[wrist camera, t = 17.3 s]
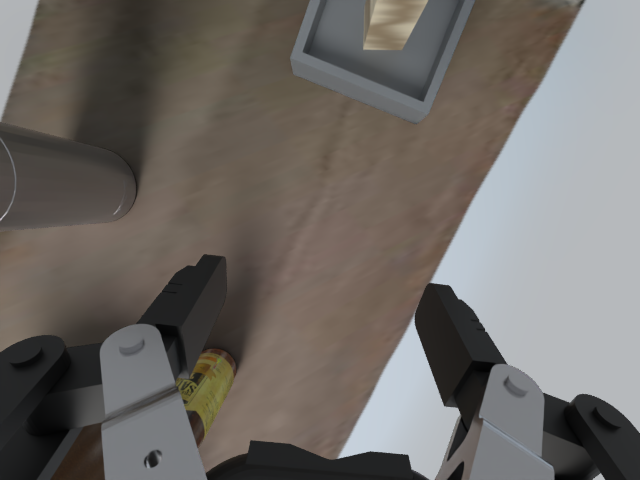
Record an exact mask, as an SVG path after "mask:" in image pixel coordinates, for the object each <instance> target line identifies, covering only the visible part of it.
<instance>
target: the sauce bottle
mask: <svg viewBox="0 0 640 480" xmlns="http://www.w3.org/2000/svg"><path fill="white" fill-rule="evenodd" d="M235 375H236V364H235V362H234V360H233V358H232V357H231V356H230V354H228V353H227V352H226V351H224V350H221V349H207V350H205V351H202V352H201V354H200V357H199V359H198V361H197V363H196V365H195V368H194V370H193V372H192V374H191V376H190V378H189V379H185V378H177V380H176V382H175V384H176V386H177V387H178V388H179V391H180V394H181V397H182V400H183V403H184V406H185V410H186V413H187V416H188V419H189V422H190V426H191V429H192V432H193V435H194V439H195V442H196V445H197V448H199V447H200V445H201V444H202V442H203V440H204V438H205V436H206V434H207V433H208V431H209V429H210V427H211V425H212V423H213V421H214V419H215V417H216V415H217V413H218V411H219V409H220V408H221V406H222V404H223V402H224V400H225V398H226V396H227V394H228V392H229V390H230V388H231V386H232V384H233V380H234V378H235Z"/></svg>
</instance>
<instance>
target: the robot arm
mask: <svg viewBox="0 0 640 480" xmlns="http://www.w3.org/2000/svg"><path fill="white" fill-rule="evenodd" d="M135 195H136V182H135V178H134V175H133V173H132V171H131V168H130V167H129V166H128V164H127V163H126V162H125V161H124V160H123V159H122V158H121V157H120V156H118V155H117V154H115V153H114V152H112V151H109V150H106V149H103V148H99V147H95V146H91V145H87V144H84V143H80V142H76V141H72V140H69V139H65V138H61V137H57V136H53V135H49V134H45V133H41V132H37V131H34V130H30V129H26V128H22V127H18V126H14V125H10V124H6V123H2V122H0V231H12V230H24V229H36V228H48V227H60V226H72V225H84V224H96V223H108V222H112V221H115V220H117V219H119V218H121V217H123V216H124V215H125V214H126V213H127V212H128V211H129V209H130V208H131V207H132V205H133V202H134V200H135ZM226 292H227V276H226V258H225V257H223V256H215V255H207V254H204V255H203V256H202V258H201V259H200V260H199V262H198V263H197V265H196V266H186V267H185V268H183V269H181V270H180V271H178V272H177V273H175V275H174V276H173V277H172V279H171V280H170V281H169V282H168V285H166V286H165V288H164V289H163V290H162V293H160V294H159V295H158V297H157V298H156V299H155V300H154V302H153V303H152V304H151V306H150V307H149V308H148V309H147V311H146V312H145V313H144V315H143V316H142V317H141V318H140V320H139V321H138V322H137V323H136V324H135V325H130V326H127V327H124V328H122V329H120V330H118V331H116V332H114V333H113V334H112V335H110V336H109V337H108V338H107V339H106V340H105V341H104V342H103V343H98V344H91V345H84V346H77V347H70V348H66V346H65V344H64V342H63V340H62V339H61V338H59V337H57V336H52V335H42V336H36V337H31V338H28V339H25V340H22V341H20V342H17V343H15V344H13V345H11V346H10V347H8V348H6V349H5V350H3V351H2V352H0V480H50V479H51V478H52V476H53V474H54V473H55V471H56V470H57V468H58V467H59V465H60V463H61V462H62V460H63V459H64V457H65V456H66V454H67V452H68V451H69V449H70V448H71V446H72V445H73V443H74V441H75V440H76V438H77V437H78V435H79V434H80V432H81V430H82V429H83V427H84V426H87V425H92V424H96V423H101V422H102V425H101V432H102V446H103V459H104V471H105V480H429V479H427V478H426V477H424V476H423V475H421V474H420V473H418V472H416V471H414V470H411V465H410V461H409V456H408V455H403V454H392V453H382V452H371V451H370V452H366V453H362V454H357V455H353V456H349V457H344V458H340V459H335V460H329V459H326V458H323V457H321V456H318V455H316V454H314V453H311V452H309V451H306V450H304V449H301V448H299V447H296V446H294V445H291V444H285V443H274V442H263V441H252V440H251V441H250V446H249V450H248V453H246V454H242V455H238V456H236V457H233V458H230V459H228V460H226V461H224V462H222V463H220V464H219V465H217V466H216V467H214V468H213V469H211V470H210V471H208V472H207V473H206V474H205V471H204V467H203V464H202V461H201V458H200V455H199V451H198V448H197V445H196V442H195V439H194V435H193V432H192V429H191V426H190V422H189V419H188V416H187V413H186V410H185V406H184V403H183V400H182V397H181V394H180V391H179V388H178V387H177V386H176V384H175V382H176V380H177V378H185V379H189V378H190V376H191V374H192V372H193V370H194V368H195V365H196V363H197V361H198V359H199V357H200V354H201V352H202V350H203V348H204V346H205V344H206V341H207V339H208V337H209V335H210V333H211V330H212V328H213V326H214V324H215V322H216V320H217V317H218V315H219V313H220V311H221V309H222V306H223V304H224V302H225V298H226ZM415 326H416V329H417V332H418V335H419V338H420V340H421V343H422V346H423V349H424V351H425V354H426V357H427V360H428V363H429V365H430V368H431V371H432V374H433V376H434V379H435V382H436V385H437V387H438V390H439V393H440V395H441V399H442V401H443V404H444V406H447V407H456V408H458V409H459V411H460V416H459V417H458V419H457V421H456V424H455V427H454V430H453V433H452V436H451V439H450V442H449V445H448V448H447V451H446V453H445V456H444V460H443V462H442V466H441V468H440V470H439V472H438V474H437V476H436V478H435V480H593V478H595V477H596V476H597V475H599V474H600V473H601V474H602V475H603V477H604V478H605V480H640V433H639V432H638V431H637V429H636V428H635V427H634V426H633V425H632V423H631V422H630V421H629V420H628V419H627V418H626V417H625V416H624V415H623V414H622V413H620V412H619V411H618V410H617V409H615V408H614V407H613V406H611V405H610V404H608V403H606V402H605V401H603V400H601V399H599V398H597V397H595V396H592V395H588V394H580V395H577V396H576V397H575V398H574V399H573V400H572V402H570V403H569V402H566V401H564V400H561V399H558V398H556V397H553V396H550V395H548V394H545V393H543V392H542V391H541V389H540V388H539V386H538V385H537V384H536V382H535V381H533V379H532V378H530V377H529V376H528V375H527V374H525V373H524V372H522V371H521V370H519V369H517V368H515V367H513V366H510V365H508V364H507V363H506V361H505V360H504V358H503V357H502V355H501V353H500V352H499V350H498V349H497V347H496V346H495V344H494V343H493V341H492V339H491V338H490V336H489V335H488V333H487V332H485V328H484V327H483V325H482V324H481V323H480V322H479V319H478V318H477V316H476V314H475V313H474V311H473V310H472V309H471V308H470V307H469V306H468V305H467V304H466V303H465V302H464V301H462V300H459V299H458V298H457V296H456V295H455V293H454V291H453V290H452V288H451V287H450V286H449V285H441V284H434V283H429V284H428V285H427V286H426V288H425V290H424V293H423V295H422V298H421V300H420V302H419V305H418V307H417V310H416V313H415Z"/></svg>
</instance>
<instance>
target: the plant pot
mask: <svg viewBox="0 0 640 480" xmlns="http://www.w3.org/2000/svg"><path fill="white" fill-rule="evenodd" d="M101 425H102V422H101V423H96V424H92V425H87V426H84V427H83V429H82V430H81V432H80V434H79V435H78V437H77V438H76V440H75V441H74V443H73V445H72V446H71V448H70V449H69V451H68V452H67V454H66V456H65V457H64V459H63V460H62V462H61V463H60V465H59V467H58V468H57V470H56V471H55V473H54V474H53V476H52V478H51V479H50V480H105V471H104V459H103V446H102V432H101Z"/></svg>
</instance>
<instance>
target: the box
mask: <svg viewBox="0 0 640 480" xmlns="http://www.w3.org/2000/svg"><path fill="white" fill-rule="evenodd" d="M365 2H366V0H310V2H309V5H308V8H307V11H306V14H305V17H304V19H303V22H302V25H301V28H300V31H299V34H298V37H297V40H296V42H295V45H294V48H293V51H292V54H291V57H290V60H291V65H292V70H293V74H294V75H296V76H299V77H301V78H304V79H306V80H308V81H311V82H313V83H316V84H318V85H321V86H323V87H326V88H328V89H331V90H333V91H335V92H338V93H340V94H343V95H345V96H348V97H350V98H353V99H355V100H358V101H360V102H362V103H365V104H367V105H370V106H372V107H375V108H377V109H380V110H382V111H385V112H387V113H389V114H392V115H394V116H397V117H399V118H402V119H404V120H407V121H409V122H412V123H414V124H417V123H419V122H420V121H421V120H422V119H423V118H425V117H426V116H427V115H428V114H429V111H430V109H431V106H432V104H433V102H434V99H435V97H436V94H437V92H438V90H439V87H440V85H441V82H442V80H443V77H444V75H445V73H446V70H447V68H448V65H449V63H450V60H451V58H452V56H453V53H454V51H455V48H456V46H457V43H458V41H459V39H460V36H461V34H462V31H463V29H464V26H465V24H466V22H467V19H468V17H469V14H470V12H471V9H472V7H473V5H474V2H475V0H428V2H427V4H426V6H425V8H424V10H423V11H422V13H421V15H420V17H419V19H418V21H417V23H416V25H415V27H414V28H413V30H412V32H411V34H410V36H409V38H408V40H407V42H406V43H405V45H404V47H403V49H402V50H363V36H364V7H365Z"/></svg>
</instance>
